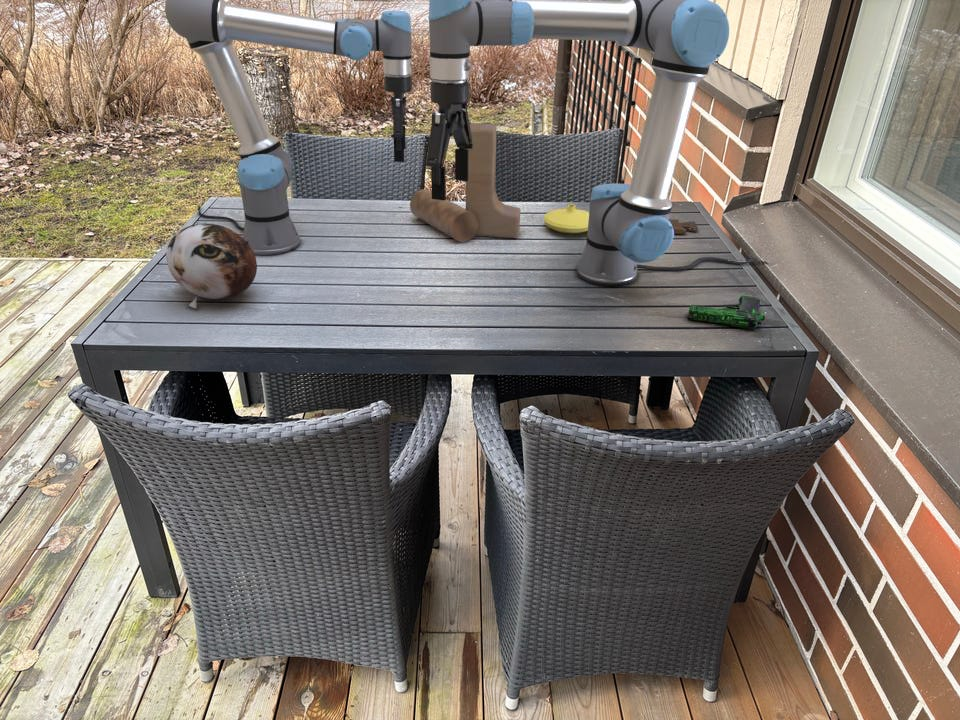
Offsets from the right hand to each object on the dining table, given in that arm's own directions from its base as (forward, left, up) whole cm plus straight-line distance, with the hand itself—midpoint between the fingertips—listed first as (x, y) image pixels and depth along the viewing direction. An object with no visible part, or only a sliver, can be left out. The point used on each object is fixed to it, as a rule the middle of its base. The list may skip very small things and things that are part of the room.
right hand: (450, 189), depth 147 cm
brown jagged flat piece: (-78, -26, -29) cm, 87 cm away
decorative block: (-33, -42, -29) cm, 61 cm away
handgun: (-57, +27, -29) cm, 70 cm away
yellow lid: (-55, -36, -29) cm, 72 cm away
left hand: (-12, -60, -9) cm, 61 cm away
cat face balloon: (+46, -33, -29) cm, 63 cm away
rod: (-18, -51, -28) cm, 61 cm away
